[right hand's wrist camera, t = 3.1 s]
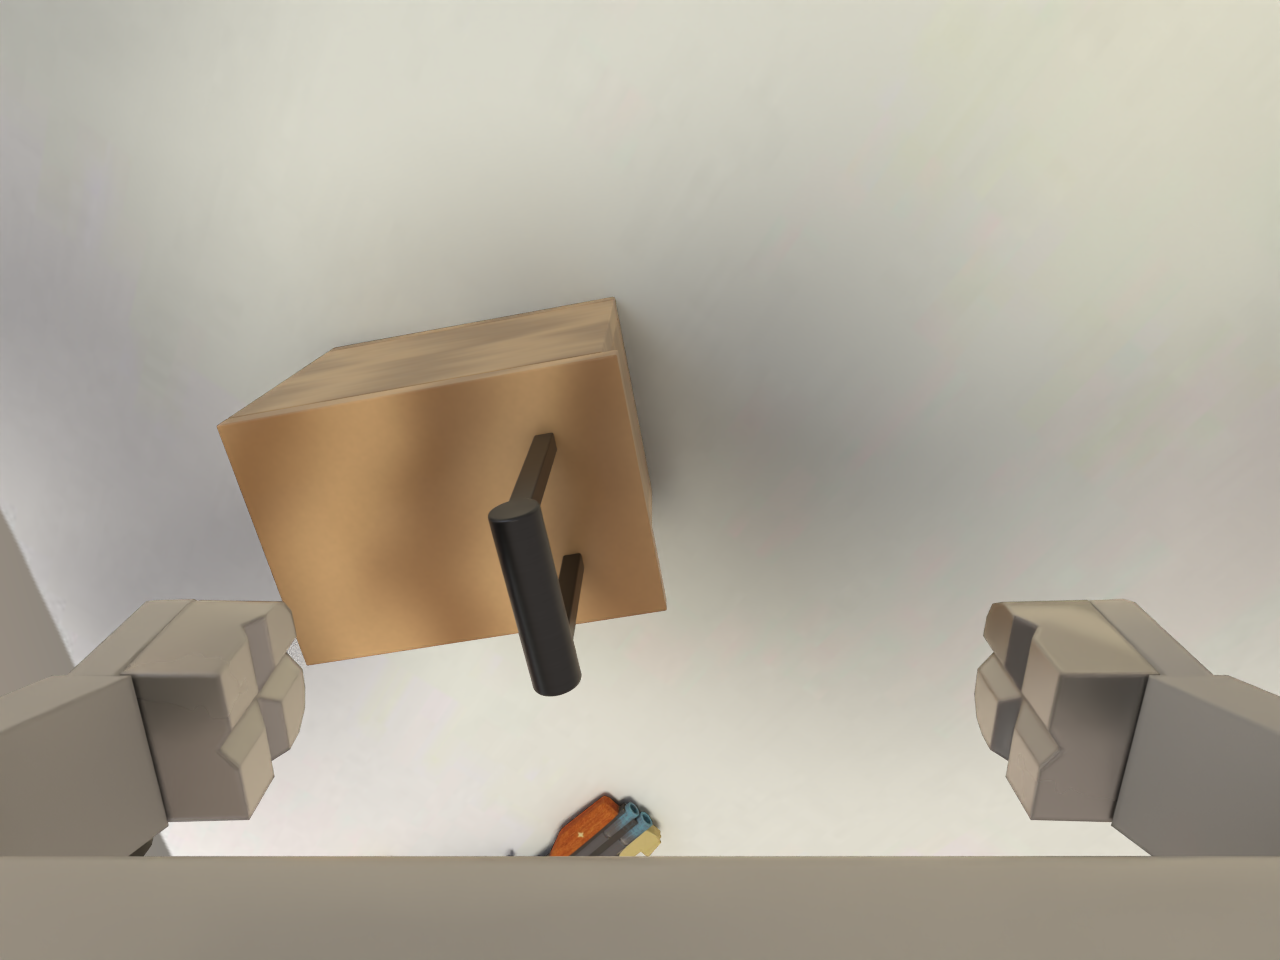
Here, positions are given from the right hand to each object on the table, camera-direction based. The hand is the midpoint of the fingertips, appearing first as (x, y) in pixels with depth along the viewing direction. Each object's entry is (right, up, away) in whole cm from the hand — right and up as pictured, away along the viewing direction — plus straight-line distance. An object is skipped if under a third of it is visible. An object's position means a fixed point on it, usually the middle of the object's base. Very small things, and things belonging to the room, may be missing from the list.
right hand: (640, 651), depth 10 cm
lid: (-7, +1, +22) cm, 23 cm away
